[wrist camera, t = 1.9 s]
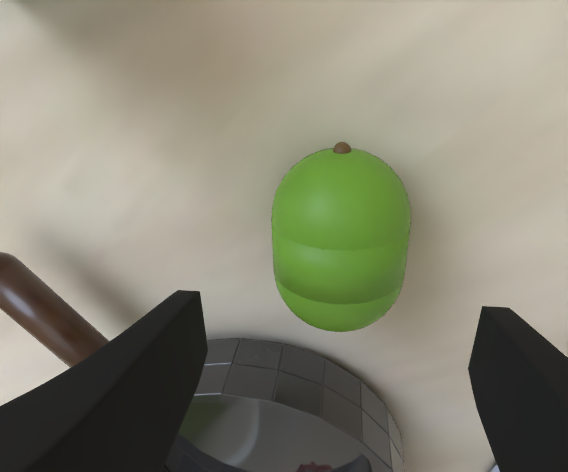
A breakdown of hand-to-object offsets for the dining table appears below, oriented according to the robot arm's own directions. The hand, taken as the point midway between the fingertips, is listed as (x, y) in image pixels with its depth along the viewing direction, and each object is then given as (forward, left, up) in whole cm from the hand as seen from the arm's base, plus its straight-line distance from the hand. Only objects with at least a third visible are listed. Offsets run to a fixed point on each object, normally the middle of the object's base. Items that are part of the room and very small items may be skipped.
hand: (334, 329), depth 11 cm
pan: (-1, +15, -7) cm, 17 cm away
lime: (0, 0, -7) cm, 7 cm away
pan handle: (+9, +8, -5) cm, 13 cm away
